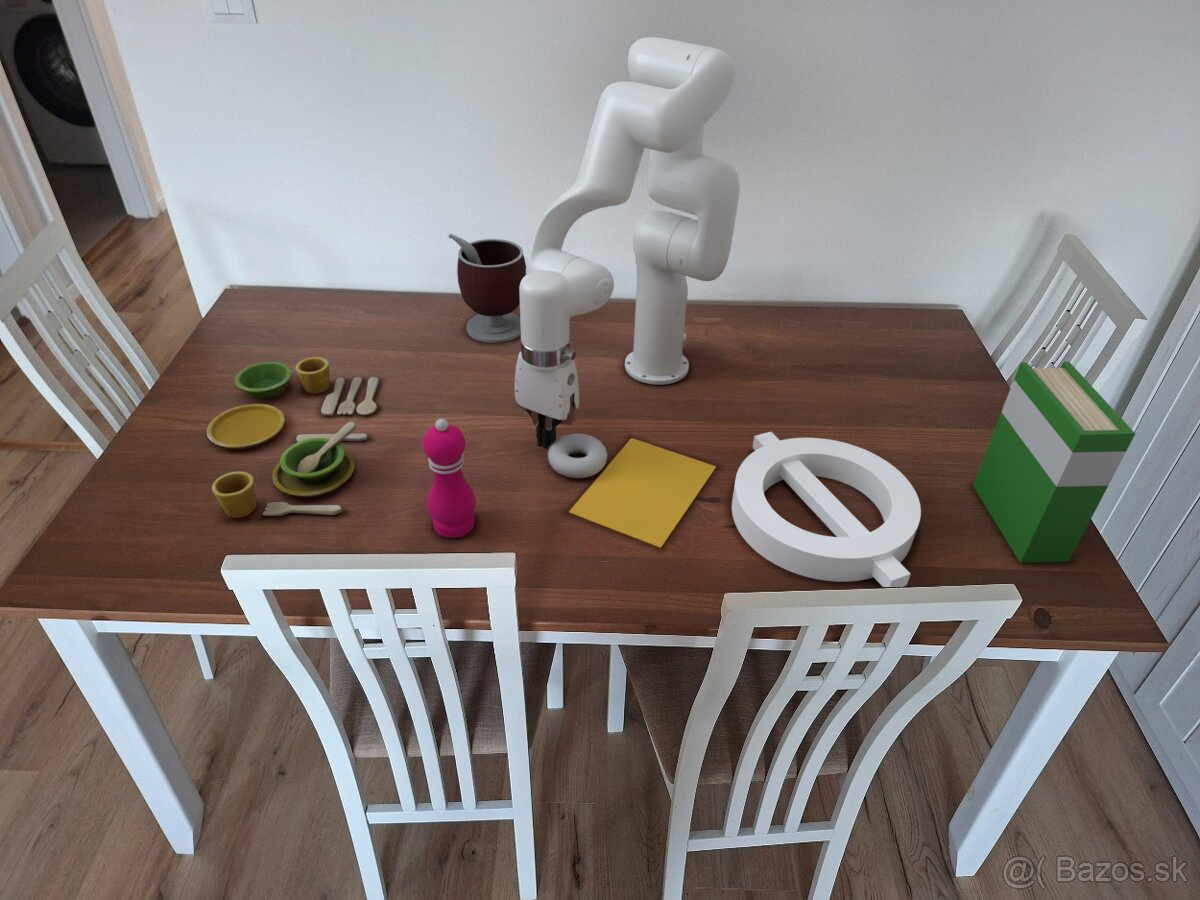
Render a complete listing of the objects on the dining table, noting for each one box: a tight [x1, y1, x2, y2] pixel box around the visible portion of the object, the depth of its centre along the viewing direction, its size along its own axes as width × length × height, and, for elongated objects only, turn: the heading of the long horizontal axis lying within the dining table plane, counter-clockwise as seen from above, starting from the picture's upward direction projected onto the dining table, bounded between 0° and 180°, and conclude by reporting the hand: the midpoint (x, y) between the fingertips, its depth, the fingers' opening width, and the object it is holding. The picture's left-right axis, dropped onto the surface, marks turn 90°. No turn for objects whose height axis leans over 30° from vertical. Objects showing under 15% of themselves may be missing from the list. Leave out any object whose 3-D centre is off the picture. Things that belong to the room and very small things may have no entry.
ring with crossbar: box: [731, 431, 922, 588], centre depth 129 cm, size 28×28×5 cm
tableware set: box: [206, 356, 380, 519], centre depth 141 cm, size 41×28×6 cm
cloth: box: [568, 437, 717, 549], centre depth 135 cm, size 22×16×1 cm
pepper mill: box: [422, 418, 477, 539], centre depth 122 cm, size 7×7×20 cm
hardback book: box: [972, 361, 1136, 564], centre depth 123 cm, size 18×7×24 cm, turn 3°
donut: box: [547, 433, 608, 479], centre depth 139 cm, size 10×4×10 cm
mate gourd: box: [448, 233, 527, 344], centre depth 169 cm, size 16×14×20 cm
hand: (546, 443), depth 141 cm, fingers closed
